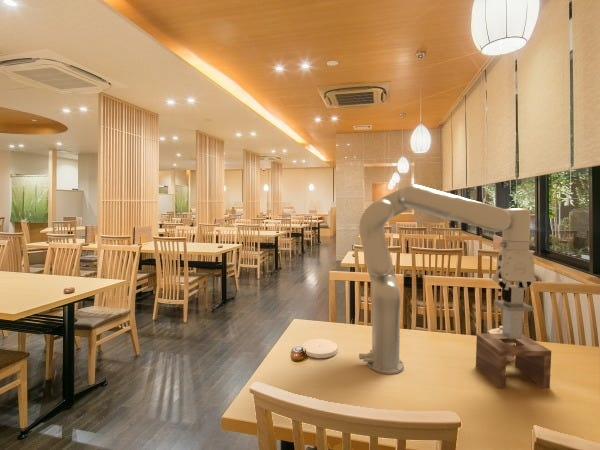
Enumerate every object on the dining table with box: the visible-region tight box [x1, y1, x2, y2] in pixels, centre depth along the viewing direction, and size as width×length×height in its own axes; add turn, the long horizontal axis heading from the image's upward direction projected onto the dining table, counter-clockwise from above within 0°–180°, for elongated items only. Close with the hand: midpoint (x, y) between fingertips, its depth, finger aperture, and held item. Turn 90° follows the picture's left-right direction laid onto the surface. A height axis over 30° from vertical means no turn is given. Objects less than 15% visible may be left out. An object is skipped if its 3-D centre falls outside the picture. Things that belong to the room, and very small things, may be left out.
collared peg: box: [493, 284, 534, 339], centre depth 111 cm, size 8×8×17 cm
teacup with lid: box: [487, 325, 516, 363], centre depth 128 cm, size 12×9×12 cm
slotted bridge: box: [475, 333, 552, 389], centre depth 112 cm, size 16×14×12 cm
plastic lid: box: [301, 338, 339, 359], centre depth 133 cm, size 14×14×2 cm
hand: (513, 300), depth 111 cm, fingers closed on collared peg, 4 cm apart
